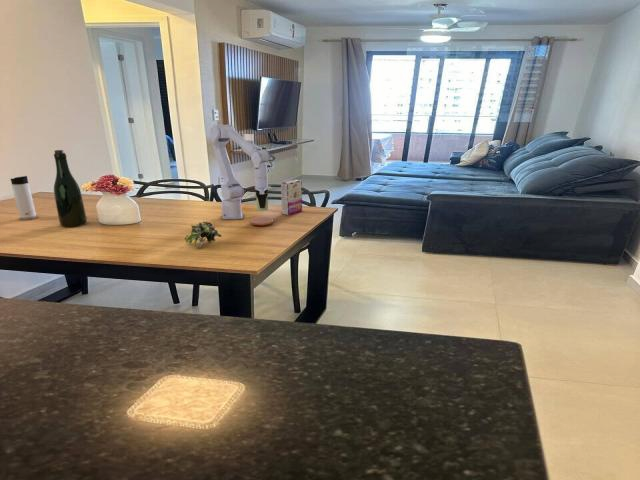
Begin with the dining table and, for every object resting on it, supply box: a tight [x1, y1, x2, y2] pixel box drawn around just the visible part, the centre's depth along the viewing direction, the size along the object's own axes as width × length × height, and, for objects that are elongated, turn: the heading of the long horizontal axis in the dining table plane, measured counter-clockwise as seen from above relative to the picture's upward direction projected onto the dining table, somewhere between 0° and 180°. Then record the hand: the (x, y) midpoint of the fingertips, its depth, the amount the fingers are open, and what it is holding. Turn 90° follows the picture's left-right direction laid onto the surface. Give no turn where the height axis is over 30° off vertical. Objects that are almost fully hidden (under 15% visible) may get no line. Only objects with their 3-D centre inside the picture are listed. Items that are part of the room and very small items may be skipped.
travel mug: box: [10, 175, 38, 221], centre depth 177 cm, size 6×7×20 cm
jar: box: [255, 196, 269, 212], centre depth 176 cm, size 5×5×6 cm
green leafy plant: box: [184, 220, 222, 249], centre depth 148 cm, size 11×11×12 cm
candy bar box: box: [280, 179, 303, 216], centre depth 196 cm, size 11×5×16 cm, turn 143°
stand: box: [248, 216, 274, 227], centre depth 178 cm, size 11×11×2 cm
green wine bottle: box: [53, 149, 88, 228], centre depth 167 cm, size 10×10×33 cm
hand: (262, 206), depth 176 cm, fingers closed on jar, 5 cm apart
